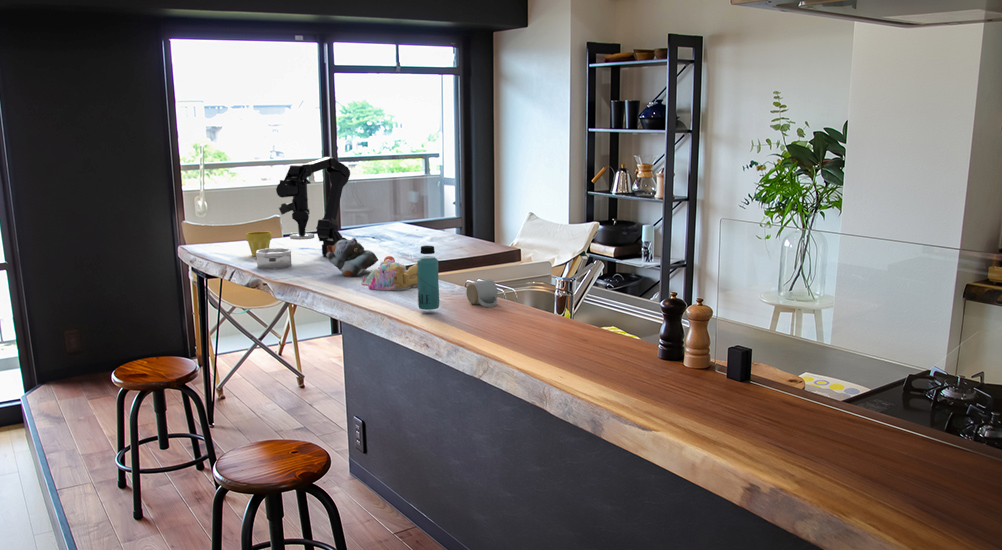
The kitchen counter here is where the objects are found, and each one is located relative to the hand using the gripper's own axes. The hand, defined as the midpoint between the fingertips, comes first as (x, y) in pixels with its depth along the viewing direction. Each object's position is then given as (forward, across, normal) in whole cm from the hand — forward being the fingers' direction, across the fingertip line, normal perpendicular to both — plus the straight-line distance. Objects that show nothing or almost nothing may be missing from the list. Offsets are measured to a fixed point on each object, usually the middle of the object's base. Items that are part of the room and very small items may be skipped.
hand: (302, 234), depth 304 cm
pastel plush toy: (+12, +53, +33) cm, 63 cm away
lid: (+2, 0, 0) cm, 2 cm away
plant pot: (+12, -21, -19) cm, 31 cm away
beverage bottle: (+12, +97, +39) cm, 105 cm away
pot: (+11, +8, -11) cm, 18 cm away
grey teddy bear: (+12, +30, +19) cm, 38 cm away
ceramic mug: (+12, +90, +58) cm, 107 cm away
